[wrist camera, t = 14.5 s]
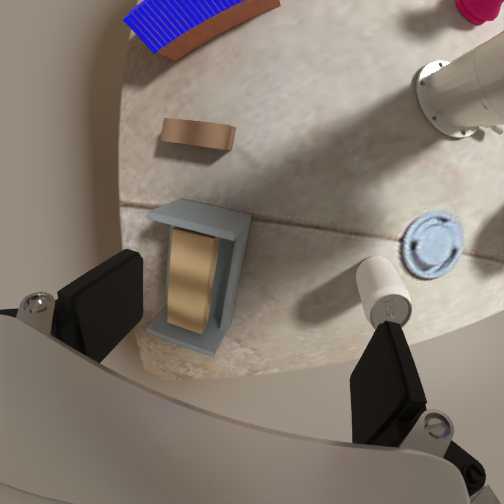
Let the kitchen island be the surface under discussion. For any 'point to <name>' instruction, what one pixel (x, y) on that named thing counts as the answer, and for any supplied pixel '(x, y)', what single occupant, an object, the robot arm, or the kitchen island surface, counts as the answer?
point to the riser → (198, 133)
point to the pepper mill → (479, 10)
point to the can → (382, 292)
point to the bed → (226, 273)
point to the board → (191, 278)
